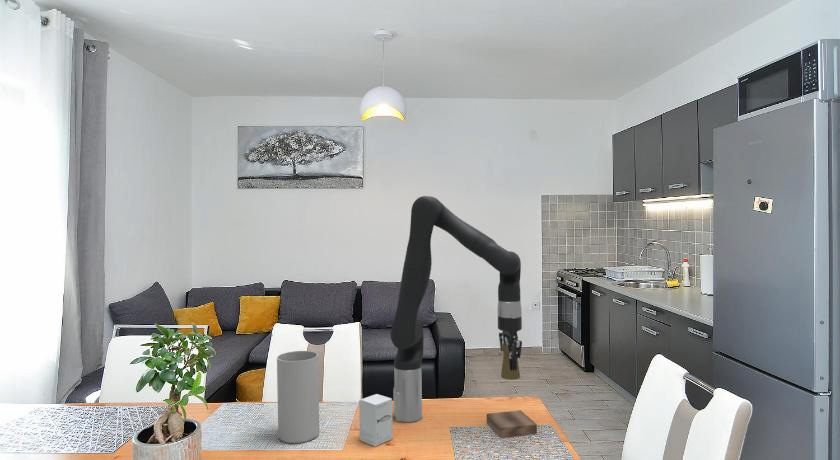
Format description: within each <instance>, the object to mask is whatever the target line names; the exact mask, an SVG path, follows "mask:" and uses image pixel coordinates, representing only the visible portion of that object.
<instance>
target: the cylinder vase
mask: <svg viewBox="0 0 840 460" xmlns="http://www.w3.org/2000/svg"><path fill="white" fill-rule="evenodd" d="M276 374H277V376H276V378H277V379H276V380H277V381H276V382H277V384H276V385H277V388H276V389H277V436H278V439H279V440H280V441H281V442H283V443H288V444H301V443H306V442H310V441H312V440H314V439H316V438H317V436H319V434H320V389H319V388H320V387H319V384H320V382H319V354H318V352H315V351H313V350H312V351H311V350H294V351H288V352H283V353H281V354H279V355H277V356H276Z"/></svg>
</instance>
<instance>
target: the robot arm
mask: <svg viewBox="0 0 840 460" xmlns="http://www.w3.org/2000/svg"><path fill="white" fill-rule="evenodd" d="M410 211H411V212H410V227H409V238H408V241H407V246H406V252H405V257H404V262H403V267H402V273H401V279H400V286H399V293H398V300H397V306H396V311H395V313H394V319H393V322H392V324H391V329H390V339H391V343H392V344H393V346H394V347H395V348H397V351H396V355H395V357H394V359H393V366H394V367H393V369H394V370H393V371H394V373H393V374H394V376H393V378H394V387H393V389H392V390H393V391H392V393H393V398H392V402H393V417H394V419H395V421H396V422H402V423H413V422H414V423H415V422H418V421H419V420H421V419H423V396H422V395H423V394H422V393H423V392H422V389H423V387H422V385H423V384H422V383H423V382H422V379H423V377H422V361H423V357H424V329H423V326H422V323H420V321H419V320H418V319H417V318H418V313H419V309H420V306H421V304H422V301H423V299H424V296H425V295H426V293H427V289H428V286H429V283H430V277H431V271H432V265H433V264H432V263H433V260H432V248H431V247H432V245H431V243H432V241H431V240H432V236H433V231H434V227H437V228H440V230H443V231H445V232H446V233H448V234H449V235H450V236H452V237H453V238H454V239H455V240H456V241H457V242H459V244H461V245H462V246H463V247H464V248H466V249H467V250H469V251H470V252H471V253H473V254H474V255H476V256H478V257H479V258H481V259H483V260H484V261H485V262H487V264H488V265H490V266H491V267H493V268H494V269H495V270H496V271H498V272H499V283H498V287H497V289H498V290H497V299H498V300H497V329H498V330H499V331H501V332H499V333H498V338H499V339H498V340H499V347H500V352H502V355H504V352H503V351H502V345H503V343H505V342H506V345H507V347H508V348H507V350H508V351H509V358H510V359H509V362H510V370H511V371H513V370H515V371H516V370H517V359H518V360H519V359H520V358H521V354H522V347H523V341H522V340H519V335H518V331H519V332H520V331H521V330H522V326H523V323H522V322H523V321H522V317H523V316H522V313H523V312H522V311H523V310H522V301H521V282H520V281H521V274H522V273H521V271H522V269H521V268H522V263H521V261H522V260H521V258H520V256H519V254H517V253H516V252H515V251H509V250H507V249H505V248H504V247H502V246H501V245H499V244H498V243H497V242H496V241H495V240H494V239H493V238H491V237H490V236H488V235H486V233H483V232H482V231H480V229H477V228H475V227H474V226H472V225H470V224H468V222H466V221H464V220H463V219H462V218H459V217H458V216H457V215H456V214H454V213H453V212H452V211H451V210H450V209H449V208H448V207H447V206H445V205H444V204H443V203H442V201H440V200H439V199H438V198H436V197H434V196H431V195H429V196H428V195H423V196H419V197H417V198H416V199H415V201H414V202H413V203H412V205H411V210H410ZM510 347H512V349H510Z"/></svg>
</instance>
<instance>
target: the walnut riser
mask: <svg viewBox="0 0 840 460" xmlns="http://www.w3.org/2000/svg"><path fill="white" fill-rule="evenodd" d="M486 425H488V426H489V427H490V428H491V429H492V430H493V432H495V434H496V435H497V436H498V437H499V438H500V439H503V438H504V439H505V438H511V437H512V438H513V437H520V436H521V437H522V436H529V435H537V433H538V424H537V423H536V422H535V421H533V419H532V418H530V417H529V416H528V415H527V414H525V413H524V412H523V411H522V410H509V411H501V412H489V413H486Z"/></svg>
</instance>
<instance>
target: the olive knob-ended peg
mask: <svg viewBox="0 0 840 460" xmlns="http://www.w3.org/2000/svg"><path fill="white" fill-rule="evenodd" d="M507 348H508V347H507V345H506V342H505V343H503V345H502V351H501V352H502V353H503V352H504V355H503V354H502V355H503V356H502V365H501V371H500V372H501V375H500V377H501V378H502V379H503V380H510V381H511V380H519V379H521V374H520V366H519V358H518V359H517V370H516V371H515V370H513V371H511V370H510V362H509V359H510V358H509V351H508V350H507ZM510 349H512V347H510Z"/></svg>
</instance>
